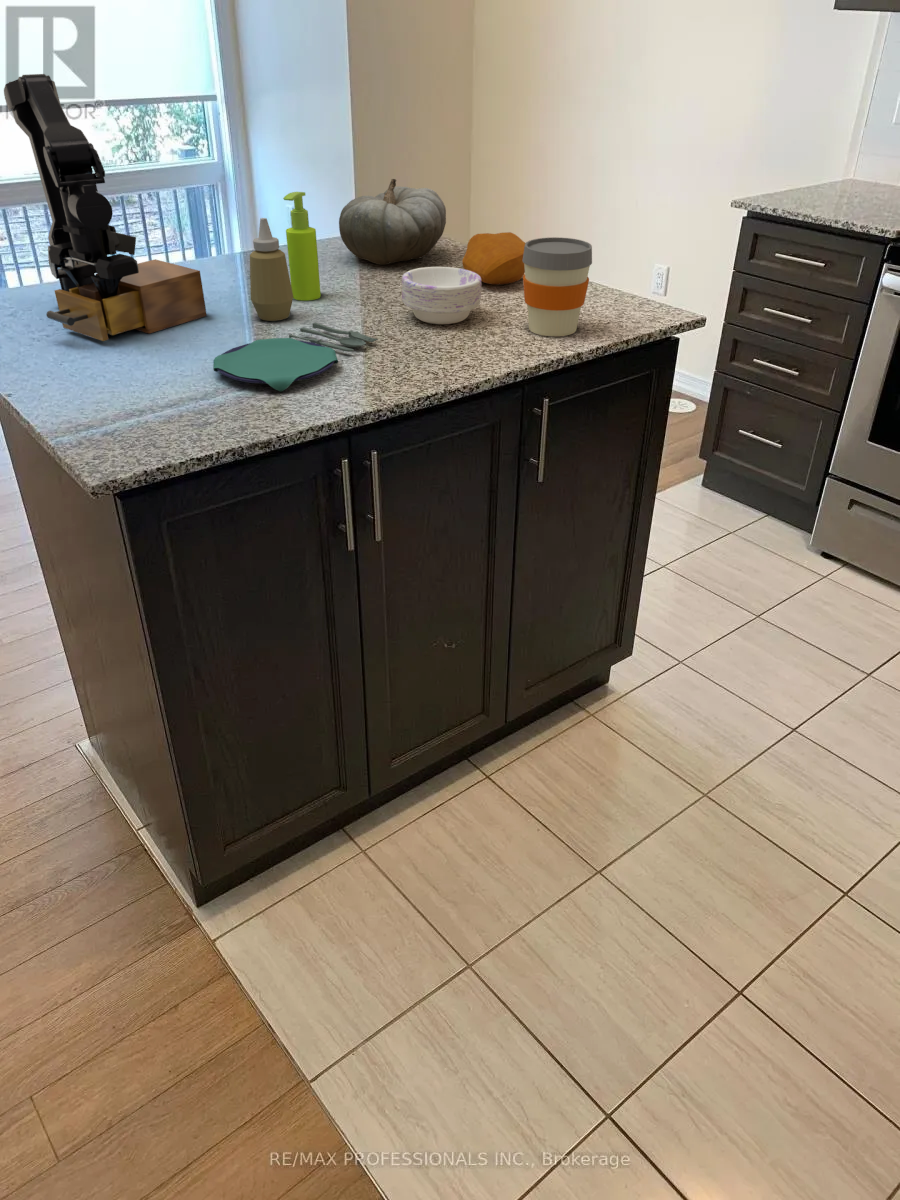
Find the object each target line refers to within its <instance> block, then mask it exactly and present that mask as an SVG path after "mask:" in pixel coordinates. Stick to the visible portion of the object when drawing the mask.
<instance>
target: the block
mask: <svg viewBox="0 0 900 1200" xmlns="http://www.w3.org/2000/svg"><path fill="white" fill-rule="evenodd" d="M79 292H80V295H81V296H84V297H87V298H90V299H94V300H97V301H100V302H101V307H102V311H103V316H104V319H106V314H105V310H104V305H103V300H102V298H101V296H100V294H99V292H98V290H97V288H96V286H95V284H94V283H92V284H88V285H84V286H80V287H79ZM117 295H120V290H119V286H118V291H117Z"/></svg>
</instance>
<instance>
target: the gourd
mask: <svg viewBox="0 0 900 1200" xmlns="http://www.w3.org/2000/svg"><path fill="white" fill-rule="evenodd" d="M446 223H447V209H446V205H445V203H444V201H443V199H442V198H441V197H440V196H439V194H438V193H437V191H435V190H434V189H431V188H428V187H421V188H415V187H408V186H397V179H396V178H391V179H390V182H389V185H388V188H387V189H386V190H385V191H384V192H381V193H378V194H377V195H376V196H373V195H362V196H358V197H356V198H353V199H351V200H350V201H349V202H347V203H346V204H345V205H344V207H343V208H342V209H341V211H340V214H339V218H338V229H339V236H340V238H341V240H342V242H343V244H344V246H345V247H346V248H347V249H348V251H349V252H350V253H351V254H352V255H353V256H355V257H356V258H358V259H361V260H365V261H368V262H370V263H373V264H377V265H380V266H381V265H382V266H386V265H388V264H389V265H390V264H392V263H398V262H407V261H411V260H418V259H421V258H423V257H425V256H427V255H428V254H429V253H430V252H431V251H432V250H433V248H434V247H435V246H436V244H437V243H438V241H439V240H440V239H441V238H442V236H443V234H444V232H445V227H446Z"/></svg>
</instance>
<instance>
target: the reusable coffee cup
mask: <svg viewBox="0 0 900 1200" xmlns="http://www.w3.org/2000/svg"><path fill="white" fill-rule="evenodd" d="M522 261H523V263H524V267H525V273H524V275H523V277H522V284H523V297H524V303H525V304H526V308H527V322H528V323H527V324H528V330H529V332H531V333H533V334H535V335H538V336H544V337H564V336H565V337H566V336H570V335H572V334H575V333H576V331H577V328H578V324H579V319H580V315H581V314H580V313H581V309H582V306H584V304H585V302H586V297H587V293H588V292H587V291H588V287H589V284H590V283H589V282H590V278H589V271H590V266H592V264H593V245H592V244H591V243H590V242H587V241H585V240H582V239H577V238H571V237H558V236H556V237H554V236H553V237H540V238H534V239H531V240H528V241H525V247H524V254H523V260H522Z"/></svg>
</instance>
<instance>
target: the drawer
mask: <svg viewBox="0 0 900 1200" xmlns="http://www.w3.org/2000/svg"><path fill="white" fill-rule="evenodd" d="M119 290H120V295H117V296H113V297H109V298H105V299H102V300H103V305H104V310H105V314H106V319H104V316H103V311H102V307H101V302H100V301H97V300H94V299H90V298H87V297H84V296H81V295H80V292H79V288H78V287H76V288H72V289H69V291H70V292H68V291H64V290H62V289H61V288H58V289H55V290H54V295H55V299H56V303H57V307H58V310H57V311H53V310H48V311H47V312H46V317H47V319H49V320H52V321H54V322H55V321H56V322H58V323H61V324H62V327H63V328H64V329H66V330H69V331H72V332H75V333H77V334H81V335H83V336H86V337H89V338H92V339H95V340H98V341H101V342H105V341H108V340H109V339H110V338H109V335H110V336H115V335H118V334H122V333H124V332H125V333H126V332H128V331H132V330H136V329H135V328H139V327H142V326H145V322H144V317H143V312H142V307H141V301H140V296H139V291H138V290H136V289H132V288H129V287H125V286H122V285H119Z"/></svg>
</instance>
